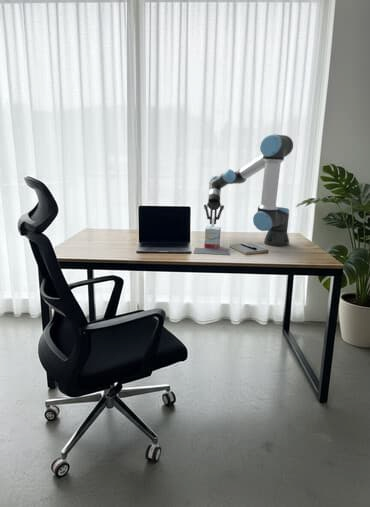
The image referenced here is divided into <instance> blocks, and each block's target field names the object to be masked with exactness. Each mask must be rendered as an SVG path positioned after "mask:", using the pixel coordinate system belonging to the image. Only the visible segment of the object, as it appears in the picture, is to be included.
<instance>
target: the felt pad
mask: <svg viewBox="0 0 370 507" xmlns="http://www.w3.org/2000/svg"><path fill="white" fill-rule="evenodd" d="M193 254H197V255H216V256H218V255H219V256H220V255H221V256H222V255H223V256H230V255H231V254H230V248H218V249H216V248H204V247H194V250H193Z"/></svg>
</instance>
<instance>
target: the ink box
mask: <svg viewBox="0 0 370 507" xmlns="http://www.w3.org/2000/svg"><path fill="white" fill-rule="evenodd" d="M221 228H222V227H221V226H214V227H213V226H206V227H205V229H204V247H203V248H216V249H220V247H221V243H220V242H221V232H222V230H221Z"/></svg>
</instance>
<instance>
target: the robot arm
mask: <svg viewBox="0 0 370 507" xmlns="http://www.w3.org/2000/svg"><path fill="white" fill-rule="evenodd" d="M293 149H294V142H293V140H292V138H291V137H290V136H289V135H284V134H283V135H282V134H277V133H274V134H268V135H266V136H265V137H264V138H263V139H262V140H261V142H260V145H259V151H260V152H261V154H260V155H259V156H258V157H256V158H255V159H253V160H252V161H250V162H249V163H248V164H245V165H244V166H243V167H241V168H239V169H238V170H237V171H234V170H232V169H231V168H230V169H226V170H225V171H224V172H222V173H221V174H220V175H213V176H211V177H210V178H209V182H208V184H209V186H208V187H209V188H208V189H209V190H208V199H207V200H208V202H207V204H203V209H204V210H205V214H206V219H207V220H209V225H211V226H213V227H215V225H216V224H217V221H218V220H220V218H221V215H222V212H223V210H224V209H225V205H222V204H221V191H222V189H223V188H225V187H226V186H228V185H236V184H238V185H239V184H240V185H241V184H244V183H245V182H246V181H247V179H249V178H250V177H252V176H253V175H255V174H256V173H259V172H260V171H261V170H263V169H264V171H263V180H262V191H261V192H262V193H261V201H260V204H259V205H258V206H257V212H256V213H254V215H253V217H252V221H253V225H254V227H255V228H256V229H257V230H258V231H261V232H266V235H265V237H264V244H265V245H268V246H271V247H287V246H289V245H290V239H289V234H288V227H289V218H290V217H289V216H290V209H289V208H288V207H281V206H277V199H278V198H277V197H278V191H279V189H278V188H279V179H280V173H281V172H280V171H281V164H282V162H283V161H285V157H287V156H289V155H290V154H291V153H292V151H293ZM208 208H209V209H210V212H209V209H208ZM217 210H218V212H217ZM213 211H214V216H213ZM209 213H210V214H209Z"/></svg>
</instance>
